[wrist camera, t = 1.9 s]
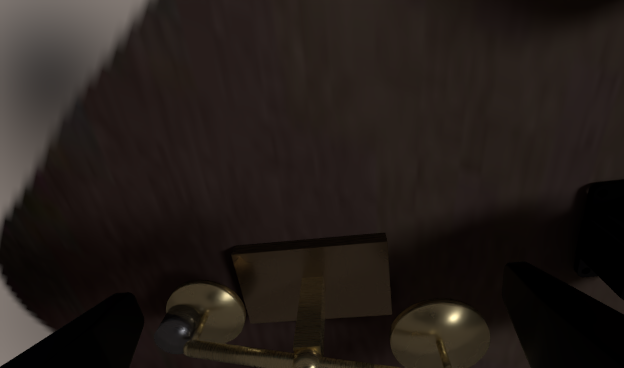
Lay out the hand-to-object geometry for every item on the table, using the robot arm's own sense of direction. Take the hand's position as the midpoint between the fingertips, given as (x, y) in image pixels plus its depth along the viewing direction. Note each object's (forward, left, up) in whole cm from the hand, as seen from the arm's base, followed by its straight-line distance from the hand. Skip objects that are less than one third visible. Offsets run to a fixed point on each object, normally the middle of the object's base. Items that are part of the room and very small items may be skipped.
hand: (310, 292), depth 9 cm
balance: (+2, +10, -13) cm, 17 cm away
